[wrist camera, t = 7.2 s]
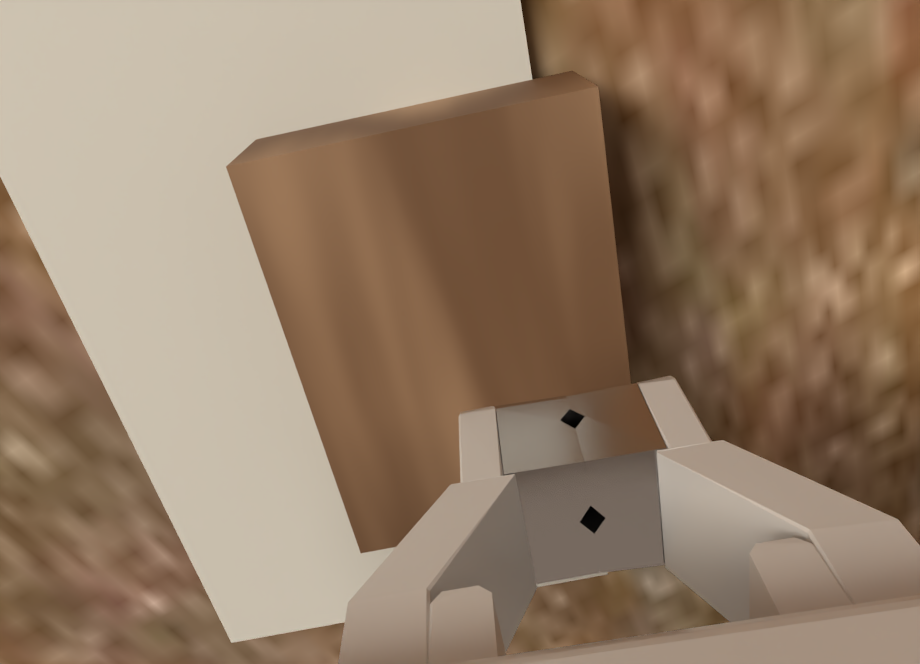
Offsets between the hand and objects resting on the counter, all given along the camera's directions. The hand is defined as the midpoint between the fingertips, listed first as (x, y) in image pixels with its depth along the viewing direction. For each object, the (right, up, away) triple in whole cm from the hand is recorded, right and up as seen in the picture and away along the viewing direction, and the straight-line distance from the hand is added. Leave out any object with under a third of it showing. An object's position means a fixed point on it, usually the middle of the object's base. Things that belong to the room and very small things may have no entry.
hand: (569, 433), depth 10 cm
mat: (-5, +2, +7) cm, 8 cm away
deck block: (+2, +2, +5) cm, 6 cm away
